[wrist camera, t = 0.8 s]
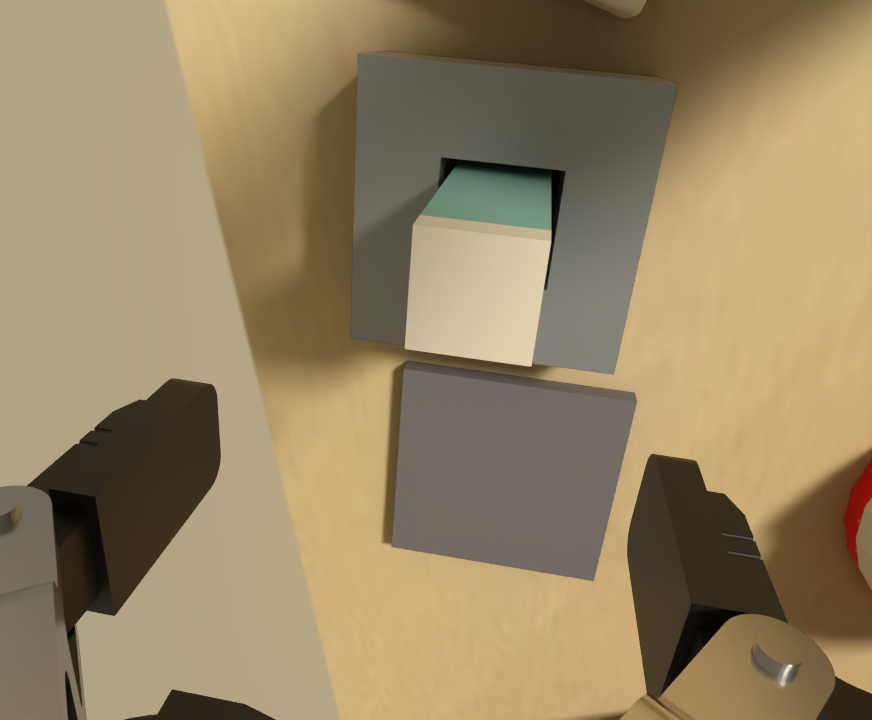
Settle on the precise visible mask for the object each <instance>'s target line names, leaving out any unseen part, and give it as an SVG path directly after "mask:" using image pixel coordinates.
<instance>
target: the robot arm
mask: <svg viewBox="0 0 872 720" xmlns="http://www.w3.org/2000/svg"><path fill="white" fill-rule="evenodd" d="M220 457H221V453H220V437H219V420H218V404H217V394H216V390H215V388H214V386H213V385H211V384H206V383H200V382H193V381H187V380H181V379H170V380H168V381H167V382H166V383H165V384H163V385H162V386H161V387H160V388H159V389H158V390H157V391H156V392H155V393H154V394H152V395H151V396H150V397H149V398H148V399H147V400H138V401H135V402H133V403H131V404H129V405H127V406H124V407H122V408H120V409H118V410H115V411H113V412H112V413H111V414H110V415H109V416H107V417H106V418H105V419H104V420H103V421H102V422H100V423H99V424H98V425H97V426H96V427H95V430H94V431H90V432H89V433H88V434H87V435H85V436H84V437H83V438H82V439H81V440H80V443H79V444H75V445H74V446H73V447H72V448H70V449H69V450H68V451H67V452H66V453H64V454H63V455H62V456H61V457H60V458H59V459H57V460H56V461H55V462H54V463H53V464H52V465H51V466H49V467H48V468H47V469H46V470H45V471H44V472H42V473H41V474H40V475H39V476H38V477H37V478H36V479H34V480H33V481H32V482H31V483H30V484H28V485H27V486H6V487H0V720H86V719H87V718H86V708H85V699H84V690H83V679H82V668H81V658H80V649H79V639H78V632H77V627H76V623H77V622H78V620H79V619H80V618H81V617H82V615H83V614H84V613H85V612H86V610H87V611H92V612H97V613H102V614H107V615H113V616H115V615H116V614H117V612H118V611H119V610H120V608H121V607H122V606H123V604H124V603H125V602H126V600H127V599H128V598H129V596H130V595H131V594H132V592H133V591H134V590H135V588H136V587H137V586H138V584H139V583H140V582H141V580H142V579H143V578H144V576H145V575H146V574H147V572H148V571H149V570H150V568H151V567H152V566H153V564H154V563H155V562H156V560H157V559H158V557H159V556H160V555H161V554H162V552H163V551H164V550H165V548H166V547H167V546H168V544H169V543H170V542H171V540H172V539H173V538H174V536H175V535H176V534H177V532H178V531H179V530H180V528H181V527H182V526H183V524H184V523H185V522H186V520H187V519H188V518H189V516H190V515H191V514H192V512H193V511H194V510H195V508H196V507H197V506H198V504H199V503H200V502H201V500H202V499H203V498H204V496H205V495H206V494H207V492H208V491H209V490H210V488H211V487H212V485H213V484H214V482H215V479H216V477H217V474H218V470H219V466H220ZM627 557H628V565H629V572H630V579H631V586H632V593H633V600H634V607H635V613H636V620H637V627H638V634H639V641H640V648H641V655H642V662H643V669H644V676H645V683H646V690H647V694H645V695H643V696H642V697H641V698H640V699H639V700H638V701H637V702H636V703H635V704H634V705H633V706H632V707H631V708H630V709H629V710H628V711H627V712H626V713H625V714H624V716H623V717H622V718H621V719H620V720H872V694H871V693H869V692H866V691H864V690H861V689H859V688H857V687H855V686H853V685H850V684H848V683H846V682H844V681H843V680H841V679H839V678H837V677H836V676H835V673H834V670H833V667H832V664H831V662H830V661H829V659H828V657H827V656H826V654H825V653H824V652H823V651H822V649H821V648H820V647H819V646H818V645H817V644H816V643H815V642H814V641H813V640H812V639H810V638H809V637H808V636H807V635H805V634H804V633H803V632H801V631H800V630H798V629H797V628H795V627H793V626H791V625H789V624H788V622H787V620H786V617H785V615H784V612H783V610H782V607H781V605H780V602H779V600H778V597H777V595H776V592H775V590H774V587H773V585H772V582H771V580H770V577H769V575H768V572H767V570H766V567H765V565H764V562H763V560H760V557H761V555H760V552H759V550H758V547H757V545H756V542H755V541H753V535H752V532H751V530H750V527H749V525H748V522H747V520H746V517H745V515H744V514H743V513H742V512H741V511H740V510H739V509H738V508H737V507H736V505H735V504H734V503H733V502H732V501H731V500H730V499H729V498H728V497H727V496H726V495H725V494H722V493H716V492H710V491H707V490H706V487H705V484H704V481H703V478H702V475H701V472H700V469H699V466H698V464H697V462H696V461H695V460H689V459H683V458H676V457H670V456H663V455H657V454H651V455H650V457H649V459H648V461H647V464H646V467H645V471H644V475H643V478H642V482H641V486H640V490H639V493H638V497H637V501H636V504H635V508H634V512H633V516H632V519H631V523H630V528H629V534H628V545H627ZM125 720H275V719H273V718H271V717H269V716H267V715H265V714H263V713H261V712H259V711H257V710H255V709H253V708H251V707H249V706H247V705H245V704H241V703H237V702H232V701H227V700H222V699H217V698H212V697H207V696H202V695H197V694H192V693H187V692H182V691H177V690H171V692H170V694H169V695H168V697H167V699H166V701H165V702H164V704H163V706H162V708H161V709H160V711H159V713H158V714H157V715H147V716H141V717H135V718H129V719H125Z"/></svg>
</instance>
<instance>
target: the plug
mask: <svg viewBox="0 0 872 720" xmlns="http://www.w3.org/2000/svg"><path fill="white" fill-rule="evenodd" d="M550 246H551V169H544V168H535V167H526V166H517V165H508V164H498V163H489V162H480V161H471V160H462V159H460V161H459V162H458V163H457V165H456V166H455V167H454V169H453V170H452V172H451V173H450V174H449V176H448V177H447V178H446V180H445V181H444V183H443V184H442V185H441V187H440V188H439V189H438V191H437V192H436V194H435V195H434V196H433V198H432V199H431V200H430V202H429V203H428V205H427V206H426V207H425V209H424V210H423V211H422V213H421V214H420V216H419V217H418V218H417V220H416V221H415V223H414V224H413V231H412V246H411V261H410V276H409V291H408V306H407V321H406V336H405V349H407V350H415V351H422V352H429V353H436V354H443V355H451V356H458V357H465V358H472V359H479V360H486V361H494V362H501V363H508V364H515V365H522V366H530V367H531V366H532V359H533V353H534V347H535V341H536V334H537V328H538V322H539V316H540V309H541V303H542V297H543V290H544V284H545V278H546V272H547V265H548V259H549V253H550Z"/></svg>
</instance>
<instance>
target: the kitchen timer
mask: <svg viewBox="0 0 872 720" xmlns="http://www.w3.org/2000/svg"><path fill="white" fill-rule="evenodd" d="M844 524H845V532H846V541H847V548H848V550H849V552H850V553H851V555H852V557H853V559H854V560H855V562H856V564H857V566H858V567H859V569H860V571H861V573H862V574H863V576H864V578H865V580H866V581H867V583H868V585H869V587H870V588H871V590H872V460H871V461H870V463H869V464H868V466H867V467H866V469H865V470H864V472H863V473H862V475H861V476H860V478H859V479H858V481H857V482H856V484H855V485H854V487H853V488H852V491H851V495H850V499H849V502H848V506H847V510H846V513H845V517H844Z"/></svg>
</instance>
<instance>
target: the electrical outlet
mask: <svg viewBox="0 0 872 720" xmlns="http://www.w3.org/2000/svg"><path fill="white" fill-rule="evenodd" d="M583 1H585V2H587V3H590V4H592V5H594V6H596V7H598V8H600V9H603V10H605V11H607V12H609V13H611V14H614V15H616V16H618V17H620V18H623V19H625V18H630V17H635V16H637V15H638V14H640V12H641V11H642V9H643V7H644V5H645V3H646V1H647V0H583Z"/></svg>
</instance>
